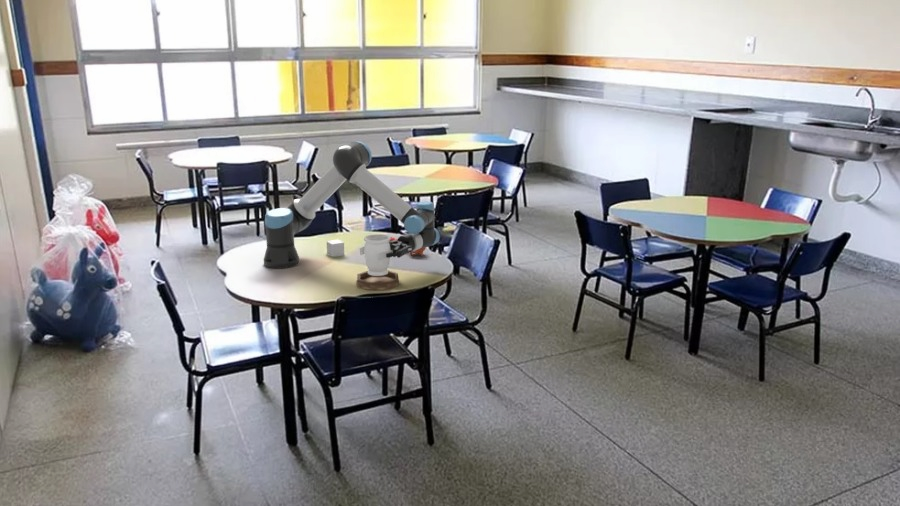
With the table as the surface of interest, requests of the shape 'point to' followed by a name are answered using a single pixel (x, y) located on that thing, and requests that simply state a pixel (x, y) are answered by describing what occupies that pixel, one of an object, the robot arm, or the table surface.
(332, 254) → the white cube
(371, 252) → the jar
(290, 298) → the table surface
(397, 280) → the tray
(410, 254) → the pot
